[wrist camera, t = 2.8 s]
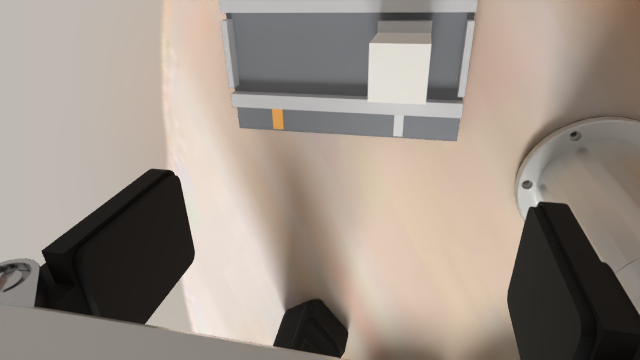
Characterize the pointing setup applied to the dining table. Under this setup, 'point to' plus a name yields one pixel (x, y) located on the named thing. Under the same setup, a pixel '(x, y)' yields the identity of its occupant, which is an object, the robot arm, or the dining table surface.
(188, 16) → the dining table surface
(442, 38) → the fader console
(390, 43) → the fader tab
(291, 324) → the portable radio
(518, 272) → the robot arm
